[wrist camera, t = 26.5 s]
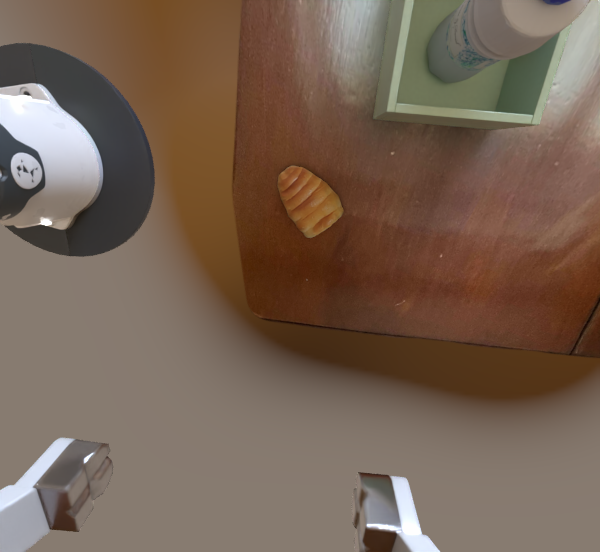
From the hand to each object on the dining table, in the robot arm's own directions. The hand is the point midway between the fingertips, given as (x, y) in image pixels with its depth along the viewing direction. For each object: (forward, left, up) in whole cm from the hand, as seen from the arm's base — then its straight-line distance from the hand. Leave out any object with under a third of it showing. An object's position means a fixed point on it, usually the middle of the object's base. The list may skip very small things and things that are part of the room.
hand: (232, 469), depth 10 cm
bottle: (+15, +21, -36) cm, 45 cm away
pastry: (+1, +3, -37) cm, 37 cm away
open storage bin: (+15, +21, -37) cm, 45 cm away
